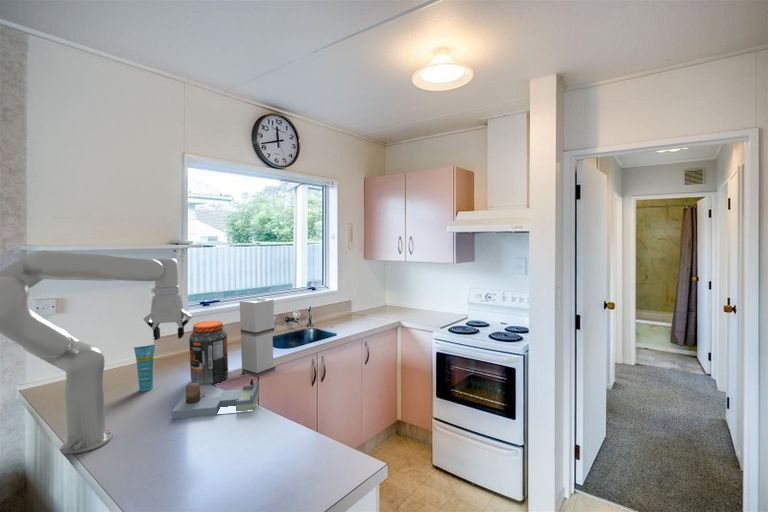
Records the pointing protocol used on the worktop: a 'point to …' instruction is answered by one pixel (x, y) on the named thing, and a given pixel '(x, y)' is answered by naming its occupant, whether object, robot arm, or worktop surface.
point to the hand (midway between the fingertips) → (169, 338)
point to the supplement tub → (208, 352)
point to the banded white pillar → (257, 336)
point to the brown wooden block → (192, 393)
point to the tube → (145, 366)
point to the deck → (218, 402)
